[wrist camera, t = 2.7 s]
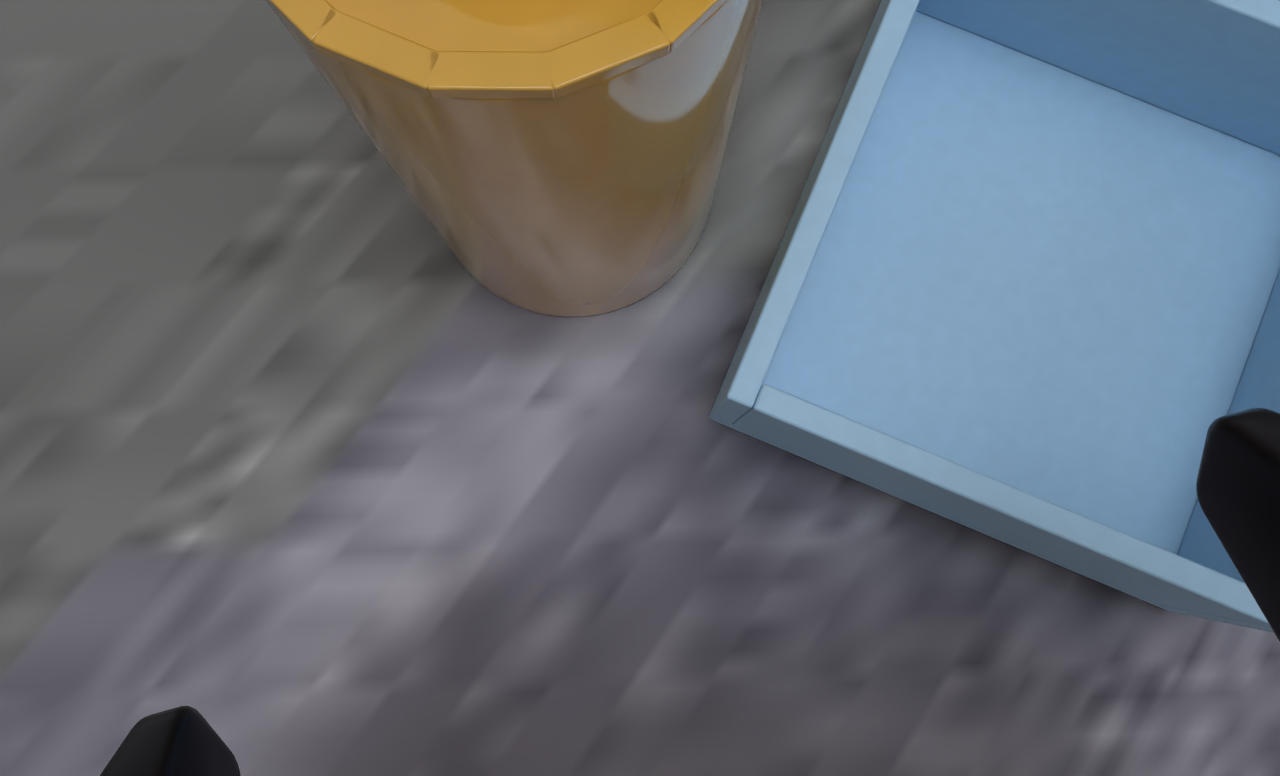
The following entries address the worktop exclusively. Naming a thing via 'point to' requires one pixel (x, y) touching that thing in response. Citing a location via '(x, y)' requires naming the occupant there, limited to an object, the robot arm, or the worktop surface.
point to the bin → (1037, 279)
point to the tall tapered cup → (544, 129)
